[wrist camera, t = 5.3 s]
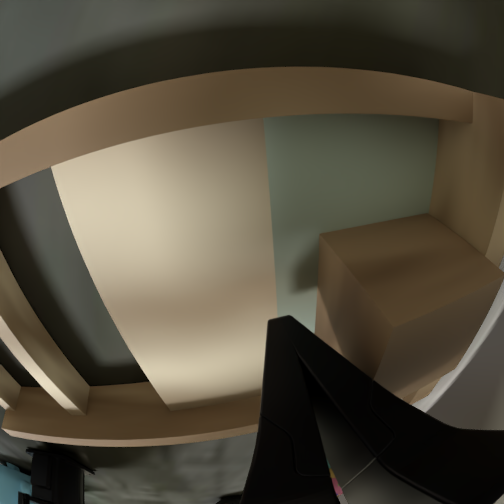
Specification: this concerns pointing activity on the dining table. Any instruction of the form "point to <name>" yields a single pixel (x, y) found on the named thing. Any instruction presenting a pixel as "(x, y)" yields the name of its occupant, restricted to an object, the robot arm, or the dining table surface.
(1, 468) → the decorative pot
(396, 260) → the walnut block
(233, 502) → the portable speaker
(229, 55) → the dining table surface
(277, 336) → the robot arm
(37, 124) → the board
